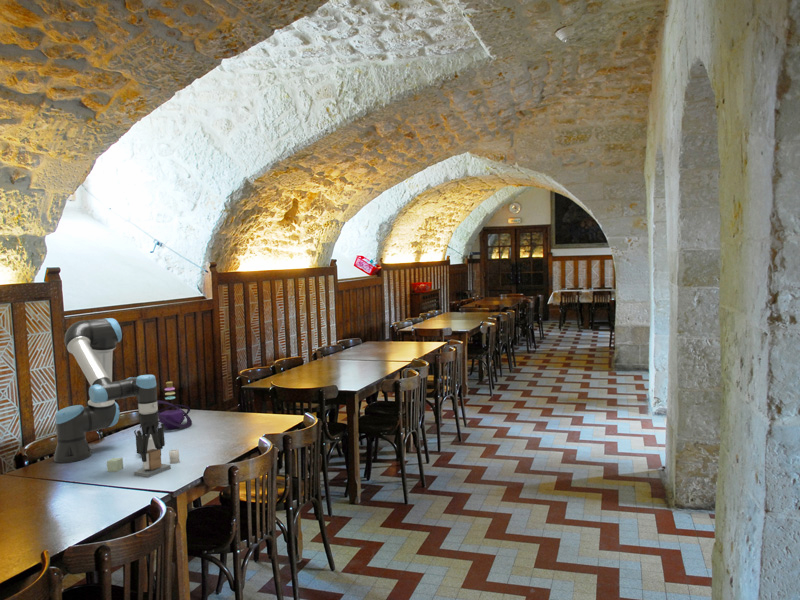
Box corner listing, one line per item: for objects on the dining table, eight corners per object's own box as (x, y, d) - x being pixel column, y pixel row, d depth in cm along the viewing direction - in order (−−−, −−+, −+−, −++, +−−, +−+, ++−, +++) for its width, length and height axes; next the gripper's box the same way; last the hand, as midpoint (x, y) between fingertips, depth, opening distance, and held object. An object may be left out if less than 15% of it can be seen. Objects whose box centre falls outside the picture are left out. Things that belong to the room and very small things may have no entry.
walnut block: (143, 468, 259) (142, 452, 258) (153, 465, 263) (152, 448, 263) (151, 470, 256) (150, 453, 256) (161, 466, 261) (160, 450, 260)
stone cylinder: (167, 463, 271) (167, 451, 271) (175, 460, 275) (174, 449, 274) (174, 464, 269) (173, 452, 269) (181, 461, 273) (180, 450, 273)
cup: (146, 458, 279) (145, 441, 279) (131, 458, 281) (130, 441, 280) (160, 451, 290) (159, 434, 289) (145, 451, 291) (144, 434, 291)
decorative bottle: (184, 432, 321) (181, 385, 319) (144, 434, 321) (140, 387, 320) (198, 421, 343) (195, 377, 342) (161, 423, 344) (158, 378, 342)
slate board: (134, 475, 257) (133, 471, 257) (157, 466, 267) (157, 462, 267) (147, 477, 253) (147, 474, 253) (170, 468, 263) (170, 465, 263)
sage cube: (107, 471, 263) (106, 461, 263) (113, 468, 268) (112, 458, 268) (117, 471, 263) (116, 461, 262) (123, 468, 267) (122, 458, 267)
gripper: (136, 418, 249) (140, 474, 250) (171, 407, 265) (175, 461, 266) (123, 416, 252) (127, 472, 254) (159, 406, 268) (163, 459, 270)
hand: (152, 466), depth 260 cm, fingers closed on walnut block, 5 cm apart
